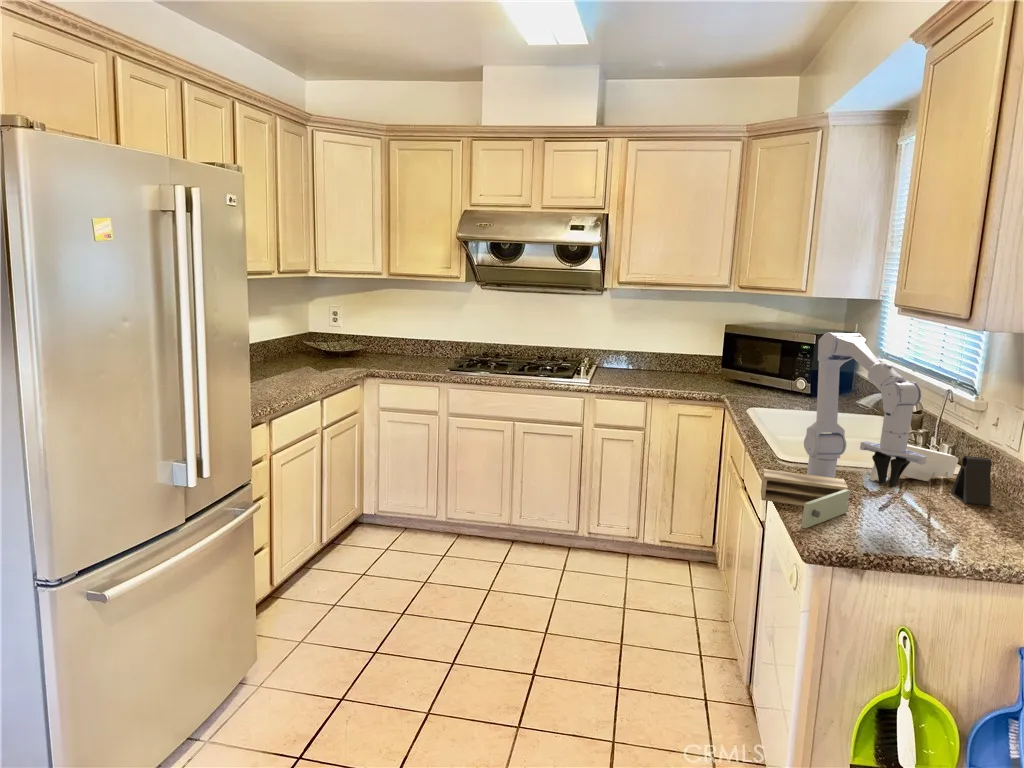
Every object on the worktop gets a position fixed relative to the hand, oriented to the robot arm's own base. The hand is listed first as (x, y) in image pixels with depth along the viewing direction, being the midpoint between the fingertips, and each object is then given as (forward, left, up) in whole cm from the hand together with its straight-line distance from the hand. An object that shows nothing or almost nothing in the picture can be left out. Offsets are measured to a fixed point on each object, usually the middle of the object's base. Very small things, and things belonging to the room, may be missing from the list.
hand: (887, 484), depth 163 cm
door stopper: (-29, +27, -10) cm, 41 cm away
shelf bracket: (-42, +15, -10) cm, 45 cm away
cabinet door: (+6, -13, -9) cm, 17 cm away
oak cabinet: (-6, -18, -9) cm, 21 cm away
